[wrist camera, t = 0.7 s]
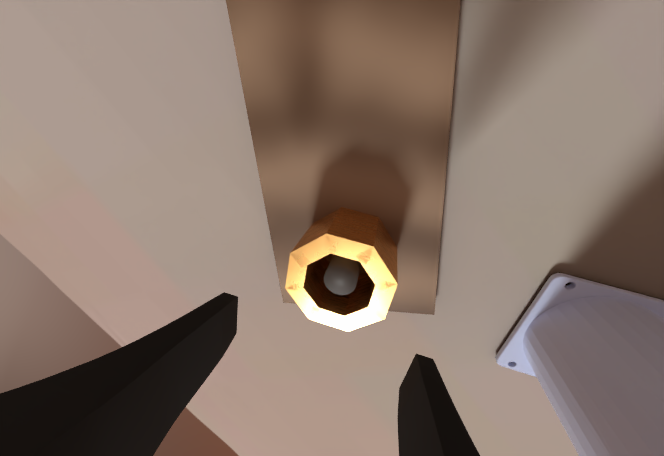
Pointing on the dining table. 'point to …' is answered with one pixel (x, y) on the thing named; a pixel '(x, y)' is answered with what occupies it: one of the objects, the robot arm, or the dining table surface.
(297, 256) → the ring
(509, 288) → the dining table surface
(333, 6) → the rod board
